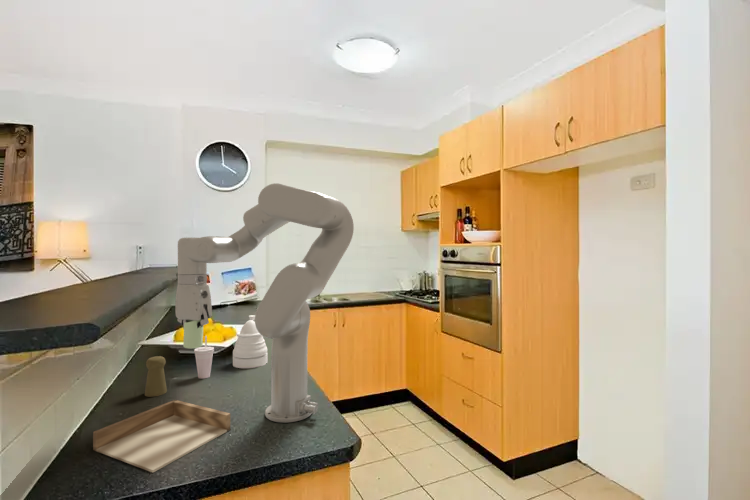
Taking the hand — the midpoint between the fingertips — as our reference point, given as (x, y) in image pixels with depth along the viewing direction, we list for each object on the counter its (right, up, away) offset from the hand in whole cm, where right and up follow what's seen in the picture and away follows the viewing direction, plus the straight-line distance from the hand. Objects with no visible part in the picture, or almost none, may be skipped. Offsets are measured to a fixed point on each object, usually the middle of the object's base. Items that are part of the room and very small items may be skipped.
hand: (192, 343), depth 111 cm
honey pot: (+4, -17, +38) cm, 42 cm away
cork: (-15, -17, +7) cm, 24 cm away
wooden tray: (+4, -17, -22) cm, 28 cm away
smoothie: (-7, -17, +22) cm, 29 cm away
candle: (0, -1, 0) cm, 1 cm away
